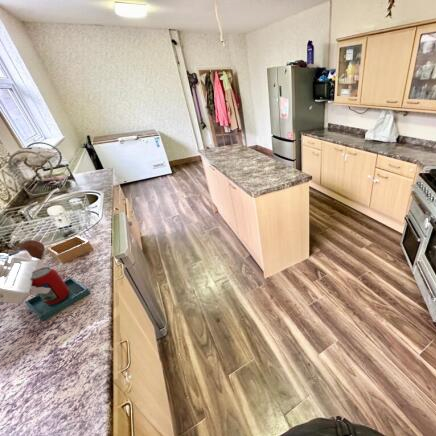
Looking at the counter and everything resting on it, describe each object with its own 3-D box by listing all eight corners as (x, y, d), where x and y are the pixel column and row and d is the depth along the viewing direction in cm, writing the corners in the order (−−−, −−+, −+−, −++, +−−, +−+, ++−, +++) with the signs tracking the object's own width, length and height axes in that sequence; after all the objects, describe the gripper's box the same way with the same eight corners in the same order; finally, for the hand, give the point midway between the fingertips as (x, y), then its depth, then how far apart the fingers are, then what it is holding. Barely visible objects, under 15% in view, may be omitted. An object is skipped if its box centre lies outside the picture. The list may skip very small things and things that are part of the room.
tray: (42, 321, 74) (39, 317, 73) (27, 306, 80) (24, 301, 79) (90, 293, 84) (87, 288, 83) (74, 281, 90) (71, 276, 89)
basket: (62, 263, 100) (57, 255, 98) (52, 256, 105) (46, 248, 103) (93, 249, 108) (88, 241, 106) (82, 242, 114) (77, 235, 111)
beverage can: (41, 304, 80) (19, 278, 74) (62, 289, 85) (43, 264, 79) (55, 307, 78) (34, 281, 72) (76, 292, 84) (58, 267, 78)
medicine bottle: (17, 281, 91) (-4, 257, 86) (39, 269, 97) (21, 246, 91) (28, 285, 89) (8, 260, 83) (50, 272, 95) (32, 249, 89)
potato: (25, 265, 100) (13, 250, 96) (24, 254, 107) (13, 240, 103) (49, 257, 105) (38, 242, 101) (47, 247, 112) (37, 233, 108)
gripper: (-17, 285, 62) (52, 293, 71) (2, 250, 76) (58, 261, 86) (-30, 306, 61) (41, 310, 71) (-8, 267, 76) (48, 275, 86)
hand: (50, 283), depth 79 cm, fingers closed on beverage can, 7 cm apart
